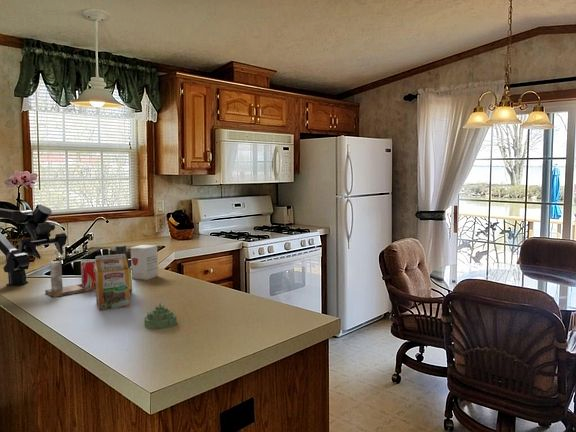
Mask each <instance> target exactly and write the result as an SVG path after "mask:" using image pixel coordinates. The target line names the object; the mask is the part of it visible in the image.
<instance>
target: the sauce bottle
mask: <svg viewBox="0 0 576 432" xmlns="http://www.w3.org/2000/svg"><path fill="white" fill-rule="evenodd" d="M115 252H116V255H117V254H125V255H126V261H127V265H128V272H129V293H130V294H133V293H132V292H133V280H132V279H133V278H132V272H131V262H130V261H129V258H128V256H127V255H128V254H127V245H125V244H121V245H119V244H118V245H115Z"/></svg>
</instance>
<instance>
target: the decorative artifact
mask: <svg viewBox="0 0 576 432" xmlns="http://www.w3.org/2000/svg"><path fill="white" fill-rule="evenodd" d="M177 323H178V322H177V314H176V313H174V312H173V311H172V310H170V309H169V307H165V306H164V305H163V304H161V303H159V305H157V306H155V308H154V310H151V311H150V312H146V316H144V327H145V328H146V329H150V330H164V329H169V328H172V327H174V326H176V325H177Z"/></svg>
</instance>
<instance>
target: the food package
mask: <svg viewBox="0 0 576 432" xmlns="http://www.w3.org/2000/svg"><path fill="white" fill-rule="evenodd" d="M126 255H127V254H126ZM126 255H125V254H117V253H116V254H107V255H97V256H95V259H94V260H95V285H96V290H95V299H96V302H95V303H96V306H97V308H98V310H99V312H102V311H107V310H108V311H109V310H116V309H123V308H129V307H131V293H129V272H128V265H127V261H126Z"/></svg>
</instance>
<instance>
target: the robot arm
mask: <svg viewBox="0 0 576 432" xmlns="http://www.w3.org/2000/svg"><path fill="white" fill-rule="evenodd" d="M52 212H53V211H52V209H51V208H50V207H48V206H45V205H43V204H41V203H40V204H39V203H38V204H37V205H36V207H35V209H34V210H31V209H23V210H14V209H8V208H1V207H0V219H5V220H6V219H7V220H11V221H12V222H13V223H16V224H17V225H21V224H25V226H24V229H23V232H24V233H25V232H26V233H29V234H30V237H31V238H30V237H28V238H21V239H20V240H19V244H18V249H17V248H16V247H15V246H14V245H13V244H12V243H11V242H10V241H9V240H8V239H7V238H6V237H5V236H4V235H3V234H2V233H1V232H0V251H1V253H3V255H4V256H5V262H6V264H5V265H3V271H4V273H7V275H8V276H7V277H8V283H6V284H5V285H6V286H15V287H16V286H21V285H22V286H23V285H24V284H25V285H26V284H28V283H29V281H27V273H26V270H28V269H29V267H30V262H31V258H30V256H33V257H34V258H37V259H39V260H40V259H41V258H42V257H41V255H40V253H39V251H38V250H37V248H36V247H40V246H46V245H52V244H54V246H55V249H56V250H57V251H58V253H59V254H60V255H61V256H63V254H64V250H63V247H64V246H65V245H66V243H67V239H68V235H67V233H66V232H61V233H56V234H55V235H54V236H55V237H53V238H50V237H51V235H52V234H51V231H54V230H55V229H56V225H55V223H54V222H47V221H48V220H49V218H50V216H51V215H52ZM29 255H30V256H29Z"/></svg>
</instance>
